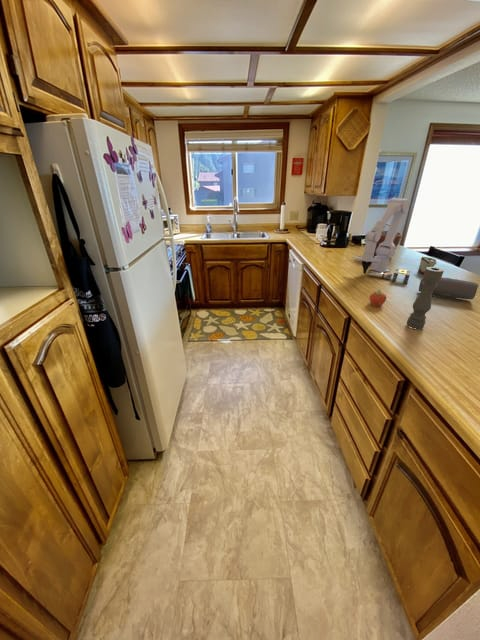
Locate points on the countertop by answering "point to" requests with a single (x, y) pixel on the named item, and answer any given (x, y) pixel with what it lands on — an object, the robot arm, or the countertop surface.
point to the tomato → (377, 298)
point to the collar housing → (401, 273)
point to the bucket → (383, 236)
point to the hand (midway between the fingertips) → (364, 273)
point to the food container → (426, 264)
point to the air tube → (380, 275)
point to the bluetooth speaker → (453, 288)
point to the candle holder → (424, 297)
